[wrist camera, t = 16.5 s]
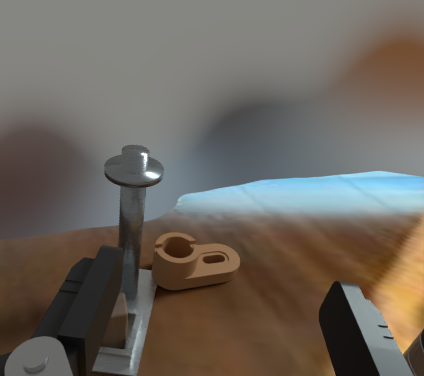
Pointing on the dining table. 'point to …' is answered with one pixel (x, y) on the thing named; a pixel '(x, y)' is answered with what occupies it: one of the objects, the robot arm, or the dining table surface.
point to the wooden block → (117, 325)
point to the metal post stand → (131, 256)
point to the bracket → (191, 262)
